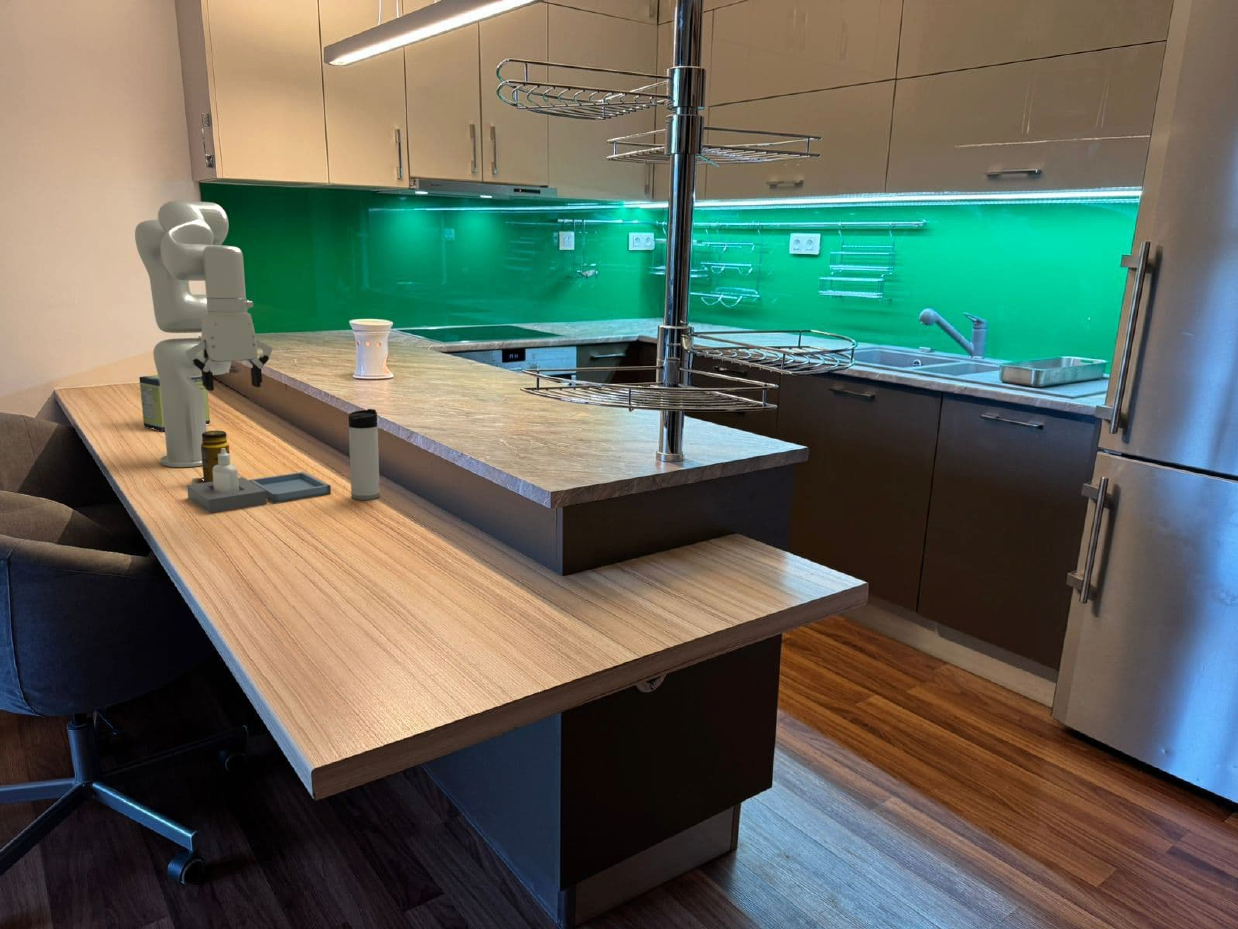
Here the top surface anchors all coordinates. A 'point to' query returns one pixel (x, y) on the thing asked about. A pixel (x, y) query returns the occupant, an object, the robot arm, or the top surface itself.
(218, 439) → the condiment
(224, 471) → the eye dropper bottle
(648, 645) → the top surface
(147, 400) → the protein box
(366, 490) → the travel mug
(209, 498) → the bottle holder
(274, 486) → the parts tray
